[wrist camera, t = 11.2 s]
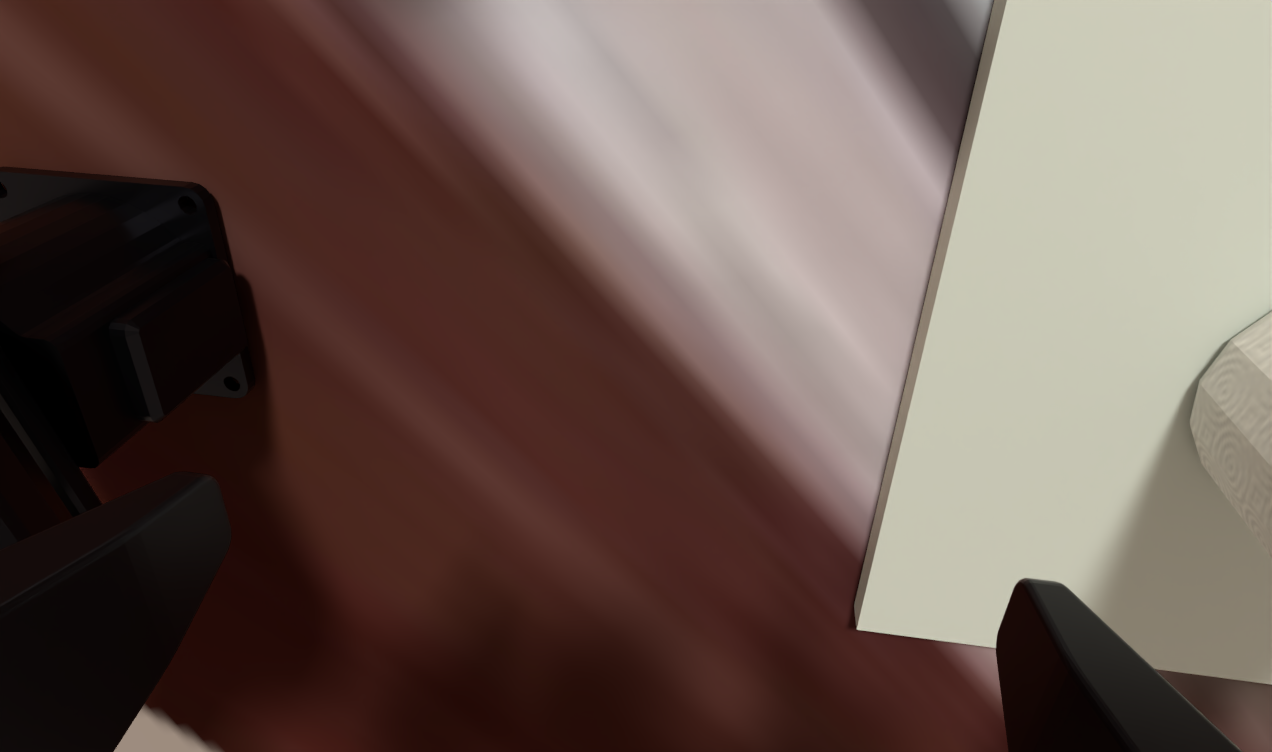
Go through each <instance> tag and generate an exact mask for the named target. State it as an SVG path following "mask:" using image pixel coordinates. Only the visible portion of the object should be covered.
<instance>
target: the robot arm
mask: <svg viewBox="0 0 1272 752" xmlns="http://www.w3.org/2000/svg"><path fill="white" fill-rule="evenodd" d="M1 183H2V184H3V185H4V186H5V187H6V189H7V191H6V190H5V189H4V188H3V186H2V184H1ZM188 197H190V198H191V199H192V200H193V201H194V202H195V204H196V206H197V209H195V208H193V207H192V206H191V205H190V204H189V202H188V200H187V199H188ZM247 344H248V340H247V336H246V332H245V327H244V323H243V319H242V314H241V310H240V306H239V301H238V297H237V293H236V288H235V284H234V280H233V275H232V271H231V268H230V266H229V265H228V260H227V256H226V252H225V247H224V243H223V239H222V234H221V230H220V226H219V221H218V217H217V213H216V208H215V204H214V201H213V198H212V196H211V194H210V193H209V192H208V191H207V189H206V188H204V187H203V186H201V185H200V184H197V183H193V182H183V181H171V180H159V179H147V178H135V177H123V176H111V175H99V174H86V173H74V172H62V171H50V170H38V169H26V168H14V167H0V752H113V751H114V750H115V748H116V747H117V745H118V744H119V742H120V741H121V739H122V738H123V736H124V734H125V733H126V731H127V730H128V728H129V727H130V725H131V724H132V721H133V720H134V719H135V717H136V716H137V714H138V713H139V711H140V710H141V708H142V706H143V705H144V703H145V702H146V700H147V699H148V697H149V696H150V694H151V693H152V691H153V689H154V688H155V686H156V685H157V683H158V682H159V680H160V678H161V677H162V675H163V673H164V672H165V670H166V668H167V667H168V665H169V663H170V662H171V660H172V658H173V656H174V654H175V653H176V651H177V649H178V647H179V645H180V643H181V641H182V639H183V637H184V636H185V634H186V632H187V630H188V628H189V626H190V624H191V622H192V620H193V618H194V616H195V614H196V612H197V610H198V608H199V606H200V604H201V602H202V600H203V598H204V596H205V594H206V592H207V590H208V588H209V587H210V585H211V583H212V581H213V579H214V577H215V575H216V573H217V571H218V569H219V567H220V565H221V563H222V561H223V559H224V557H225V555H226V553H227V551H228V549H229V546H230V542H231V525H230V522H229V518H228V514H227V511H226V507H225V504H224V500H223V496H222V493H221V489H220V486H219V483H218V482H217V480H216V479H215V478H214V477H212V476H210V475H207V474H199V473H191V472H175V473H173V474H170V475H168V476H166V477H163V478H161V479H159V480H157V481H154V482H152V483H150V484H148V485H145V486H143V487H141V488H139V489H136V490H134V491H132V492H130V493H127V494H125V495H123V496H121V497H118V498H116V499H114V500H112V501H109V502H107V503H105V504H102V503H101V501H100V500H99V498H98V497H97V495H96V494H95V492H94V490H93V489H92V487H91V486H90V484H89V483H88V481H87V480H86V478H85V476H84V475H83V473H82V472H81V470H80V469H79V467H85V468H96V467H97V466H98V465H100V464H101V463H102V462H103V461H104V460H105V459H107V458H108V457H109V456H110V455H111V454H112V453H114V452H115V451H116V450H117V449H118V448H120V447H121V446H122V445H123V444H124V443H125V442H127V441H128V440H129V439H130V438H131V437H132V436H134V435H135V434H136V433H137V432H138V431H139V430H141V429H142V428H143V427H144V426H145V425H147V424H148V423H149V422H156V423H157V422H160V421H162V420H163V419H164V418H165V417H166V416H167V415H169V414H170V413H171V412H172V411H173V410H174V409H175V408H177V407H178V406H179V405H180V404H181V403H182V402H184V401H185V400H186V399H187V398H188V397H189V396H191V395H192V394H193V393H194V394H203V395H212V396H221V397H230V398H242V397H243V396H245V395H246V394H247V393H248V392H249V391H250V390H252V389H253V387H254V385H255V377H254V373H253V368H252V364H251V360H250V355H249V351H248V347H247ZM232 377H233V378H235V379H236V380H238V382H239V384H238V383H236V382H235V381H234V380H233V379H232ZM996 657H997V664H998V672H999V680H1000V688H1001V696H1002V704H1003V712H1004V720H1005V728H1006V735H1007V743H1008V751H1009V752H1242V751H1241V750H1240V749H1239V748H1238V747H1237V746H1236V745H1235V744H1234V743H1233V742H1232V741H1230V740H1229V739H1228V738H1227V737H1226V736H1225V735H1224V734H1223V733H1222V732H1221V731H1220V730H1219V729H1218V728H1217V727H1216V726H1215V725H1213V724H1212V723H1211V722H1210V721H1209V720H1208V719H1207V718H1206V717H1205V716H1204V715H1203V714H1202V713H1201V712H1200V711H1199V710H1197V709H1196V708H1195V707H1194V706H1193V705H1192V704H1191V703H1190V702H1189V701H1188V700H1187V699H1186V698H1185V697H1184V696H1183V695H1182V694H1180V693H1179V692H1178V691H1177V690H1176V689H1175V688H1174V687H1173V686H1172V685H1171V684H1170V683H1169V682H1168V681H1167V680H1166V679H1164V678H1163V677H1162V676H1161V675H1160V674H1159V673H1158V672H1157V671H1156V670H1155V669H1154V668H1153V667H1152V666H1151V665H1150V664H1149V663H1147V662H1146V661H1145V660H1144V659H1143V658H1142V657H1141V656H1140V655H1139V654H1138V653H1137V652H1136V651H1135V650H1134V649H1133V648H1132V647H1130V646H1129V645H1128V644H1127V643H1126V642H1125V641H1124V640H1123V639H1122V638H1121V637H1120V636H1119V635H1118V634H1117V633H1116V632H1114V631H1113V630H1112V629H1111V628H1110V627H1109V626H1108V625H1107V624H1106V623H1105V622H1104V621H1103V620H1102V619H1101V618H1100V617H1099V616H1097V615H1096V614H1095V613H1094V612H1093V611H1092V610H1091V609H1090V608H1089V607H1088V606H1087V605H1086V604H1085V603H1084V602H1083V601H1081V600H1080V599H1079V598H1078V597H1077V596H1076V595H1075V594H1074V593H1073V592H1072V591H1071V590H1070V589H1069V588H1067V587H1066V586H1065V585H1064V584H1062V583H1059V582H1056V581H1049V580H1041V579H1033V578H1023V579H1021V580H1019V581H1018V582H1017V583H1016V585H1015V587H1014V589H1013V592H1012V594H1011V597H1010V600H1009V603H1008V605H1007V608H1006V611H1005V613H1004V616H1003V619H1002V622H1001V624H1000V627H999V630H998V633H997V639H996Z"/></svg>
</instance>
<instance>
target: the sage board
mask: <svg viewBox="0 0 1272 752" xmlns="http://www.w3.org/2000/svg"><path fill="white" fill-rule="evenodd" d="M1271 311H1272V0H994V4H993V8H992V13H991V17H990V21H989V26H988V30H987V34H986V38H985V43H984V47H983V51H982V56H981V60H980V64H979V69H978V73H977V77H976V82H975V86H974V90H973V95H972V99H971V103H970V107H969V112H968V116H967V120H966V125H965V129H964V133H963V138H962V142H961V146H960V151H959V155H958V159H957V163H956V168H955V172H954V176H953V181H952V185H951V189H950V194H949V198H948V202H947V207H946V211H945V215H944V220H943V224H942V228H941V232H940V237H939V241H938V245H937V250H936V254H935V258H934V263H933V267H932V271H931V276H930V280H929V284H928V289H927V293H926V297H925V301H924V306H923V310H922V314H921V319H920V323H919V327H918V332H917V336H916V340H915V345H914V349H913V353H912V357H911V362H910V366H909V370H908V375H907V379H906V383H905V388H904V392H903V396H902V401H901V405H900V409H899V414H898V418H897V422H896V426H895V431H894V435H893V439H892V444H891V448H890V452H889V457H888V461H887V465H886V470H885V474H884V478H883V482H882V487H881V491H880V495H879V500H878V504H877V508H876V513H875V517H874V521H873V526H872V530H871V534H870V539H869V543H868V547H867V551H866V556H865V560H864V564H863V569H862V573H861V577H860V582H859V586H858V590H857V595H856V599H855V603H854V611H855V620H856V629H857V630H863V631H871V632H878V633H886V634H893V635H901V636H909V637H916V638H924V639H931V640H939V641H946V642H954V643H961V644H969V645H977V646H984V647H992V648H996V639H997V633H998V630H999V627H1000V624H1001V622H1002V619H1003V616H1004V613H1005V611H1006V608H1007V605H1008V603H1009V600H1010V597H1011V594H1012V592H1013V589H1014V587H1015V585H1016V583H1017V582H1018V581H1019V580H1021V579H1023V578H1033V579H1041V580H1049V581H1056V582H1059V583H1062V584H1064V585H1065V586H1066V587H1067V588H1069V589H1070V590H1071V591H1072V592H1073V593H1074V594H1075V595H1076V596H1077V597H1078V598H1079V599H1080V600H1081V601H1083V602H1084V603H1085V604H1086V605H1087V606H1088V607H1089V608H1090V609H1091V610H1092V611H1093V612H1094V613H1095V614H1096V615H1097V616H1099V617H1100V618H1101V619H1102V620H1103V621H1104V622H1105V623H1106V624H1107V625H1108V626H1109V627H1110V628H1111V629H1112V630H1113V631H1114V632H1116V633H1117V634H1118V635H1119V636H1120V637H1121V638H1122V639H1123V640H1124V641H1125V642H1126V643H1127V644H1128V645H1129V646H1130V647H1132V648H1133V649H1134V650H1135V651H1136V652H1137V653H1138V654H1139V655H1140V656H1141V657H1142V658H1143V659H1144V660H1145V661H1146V662H1147V663H1149V664H1150V665H1151V666H1152V667H1153V668H1154V669H1158V670H1166V671H1173V672H1181V673H1188V674H1196V675H1203V676H1211V677H1219V678H1226V679H1234V680H1241V681H1249V682H1256V683H1264V684H1271V685H1272V558H1271V557H1270V556H1269V554H1268V553H1267V552H1266V550H1265V549H1264V548H1263V546H1262V545H1261V543H1260V542H1259V541H1258V539H1257V538H1256V537H1255V535H1254V534H1253V533H1252V531H1251V530H1250V529H1249V527H1248V526H1247V525H1246V523H1245V522H1244V521H1243V519H1242V518H1241V516H1240V515H1239V514H1238V512H1237V511H1236V510H1235V508H1234V507H1233V506H1232V504H1231V503H1230V502H1229V500H1228V499H1227V498H1226V496H1225V495H1224V493H1223V492H1222V491H1221V489H1220V488H1219V487H1218V485H1217V484H1216V483H1215V481H1214V480H1213V479H1212V477H1211V476H1210V475H1209V473H1208V472H1207V471H1206V469H1205V468H1204V466H1203V465H1202V464H1201V461H1200V457H1199V454H1198V451H1197V447H1196V444H1195V441H1194V437H1193V434H1192V431H1191V427H1190V417H1191V413H1192V409H1193V405H1194V401H1195V397H1196V393H1197V389H1198V385H1199V381H1200V379H1201V378H1202V376H1203V375H1204V374H1205V372H1206V371H1207V370H1208V369H1209V367H1210V366H1211V365H1212V363H1213V362H1214V361H1215V359H1216V358H1217V357H1218V356H1219V354H1220V353H1221V352H1222V350H1223V349H1224V348H1225V346H1226V345H1227V344H1228V342H1229V341H1230V340H1231V339H1232V338H1234V337H1235V336H1237V335H1238V334H1239V333H1241V332H1242V331H1244V330H1245V329H1247V328H1248V327H1250V326H1251V325H1253V324H1254V323H1255V322H1257V321H1258V320H1260V319H1261V318H1263V317H1264V316H1266V315H1267V314H1269V313H1270V312H1271Z"/></svg>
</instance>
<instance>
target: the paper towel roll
mask: <svg viewBox="0 0 1272 752" xmlns="http://www.w3.org/2000/svg"><path fill="white" fill-rule="evenodd" d="M1190 427H1191V431H1192V434H1193V437H1194V441H1195V444H1196V447H1197V451H1198V454H1199V457H1200V461H1201V464H1202V465H1203V466H1204V468H1205V469H1206V471H1207V472H1208V473H1209V475H1210V476H1211V477H1212V479H1213V480H1214V481H1215V483H1216V484H1217V485H1218V487H1219V488H1220V489H1221V491H1222V492H1223V493H1224V495H1225V496H1226V498H1227V499H1228V500H1229V502H1230V503H1231V504H1232V506H1233V507H1234V508H1235V510H1236V511H1237V512H1238V514H1239V515H1240V516H1241V518H1242V519H1243V521H1244V522H1245V523H1246V525H1247V526H1248V527H1249V529H1250V530H1251V531H1252V533H1253V534H1254V535H1255V537H1256V538H1257V539H1258V541H1259V542H1260V543H1261V545H1262V546H1263V548H1264V549H1265V550H1266V552H1267V553H1268V554H1269V556H1270V557H1271V558H1272V311H1271V312H1270V313H1269V314H1267V315H1266V316H1264V317H1263V318H1261V319H1260V320H1258V321H1257V322H1255V323H1254V324H1253V325H1251V326H1250V327H1248V328H1247V329H1245V330H1244V331H1242V332H1241V333H1239V334H1238V335H1237V336H1235V337H1234V338H1232V339H1231V340H1230V341H1229V342H1228V344H1227V345H1226V346H1225V348H1224V349H1223V350H1222V352H1221V353H1220V354H1219V356H1218V357H1217V358H1216V359H1215V361H1214V362H1213V363H1212V365H1211V366H1210V367H1209V369H1208V370H1207V371H1206V372H1205V374H1204V375H1203V376H1202V378H1201V379H1200V381H1199V385H1198V389H1197V393H1196V397H1195V401H1194V405H1193V409H1192V413H1191V417H1190Z"/></svg>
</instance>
